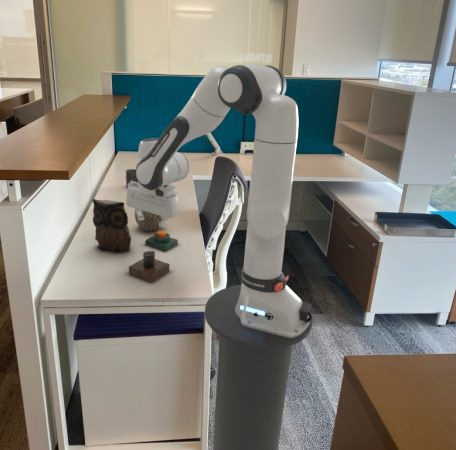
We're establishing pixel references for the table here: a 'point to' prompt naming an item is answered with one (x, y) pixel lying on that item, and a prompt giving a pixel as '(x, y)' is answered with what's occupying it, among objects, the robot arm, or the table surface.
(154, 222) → the vase
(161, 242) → the button box
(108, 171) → the table surface
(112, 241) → the owl
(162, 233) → the button
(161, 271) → the knob panel
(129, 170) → the camera
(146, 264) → the rod knob
